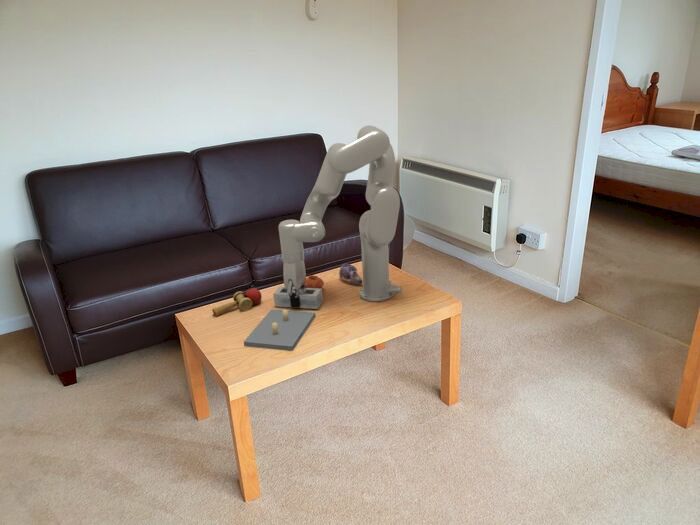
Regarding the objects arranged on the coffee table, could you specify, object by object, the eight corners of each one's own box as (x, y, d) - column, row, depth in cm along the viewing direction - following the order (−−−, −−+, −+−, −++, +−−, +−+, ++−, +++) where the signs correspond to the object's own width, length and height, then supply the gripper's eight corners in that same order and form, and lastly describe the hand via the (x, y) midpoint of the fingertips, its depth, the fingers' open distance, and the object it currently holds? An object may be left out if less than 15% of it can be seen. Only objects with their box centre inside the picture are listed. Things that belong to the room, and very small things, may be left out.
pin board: (315, 316, 176) (314, 303, 174) (292, 350, 157) (291, 336, 155) (271, 313, 180) (270, 300, 178) (244, 345, 161) (242, 331, 159)
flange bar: (322, 301, 185) (321, 288, 183) (317, 309, 180) (316, 296, 178) (281, 298, 189) (279, 286, 187) (274, 306, 184) (273, 293, 182)
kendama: (221, 324, 178) (267, 302, 186) (214, 307, 176) (261, 286, 184) (214, 319, 184) (259, 298, 192) (208, 303, 182) (253, 283, 190)
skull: (367, 285, 198) (366, 270, 196) (348, 289, 195) (348, 274, 193) (354, 274, 208) (353, 260, 206) (336, 278, 206) (335, 264, 203)
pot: (308, 284, 200) (311, 269, 197) (325, 292, 197) (328, 277, 194) (297, 292, 194) (299, 276, 191) (314, 300, 191) (317, 284, 188)
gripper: (291, 246, 186) (297, 291, 193) (273, 265, 171) (279, 313, 178) (311, 247, 184) (316, 292, 191) (294, 266, 169) (300, 314, 176)
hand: (298, 302), depth 184 cm, fingers closed on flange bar, 6 cm apart
